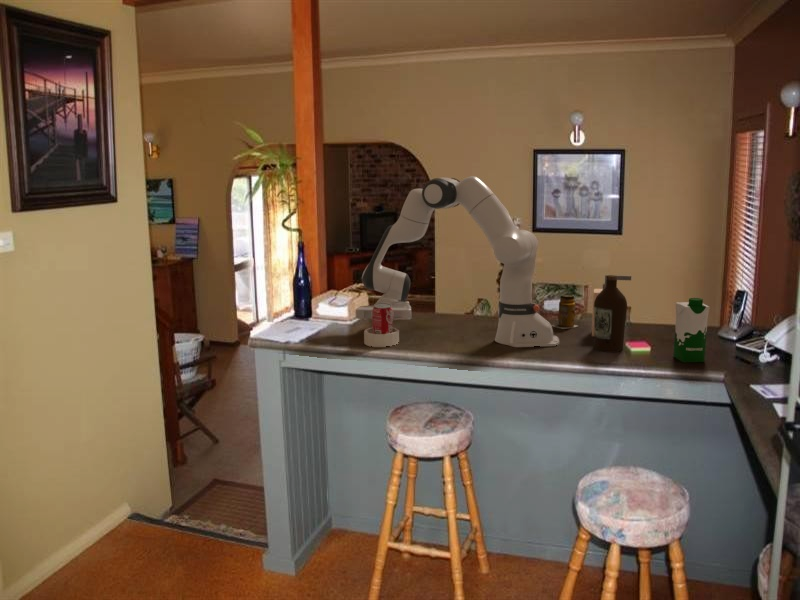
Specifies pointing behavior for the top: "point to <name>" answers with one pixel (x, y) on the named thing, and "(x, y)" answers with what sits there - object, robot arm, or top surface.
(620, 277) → the soap dispenser
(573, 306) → the condiment
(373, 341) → the bowl
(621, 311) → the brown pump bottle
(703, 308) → the milk carton
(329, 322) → the top surface
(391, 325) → the soda can
